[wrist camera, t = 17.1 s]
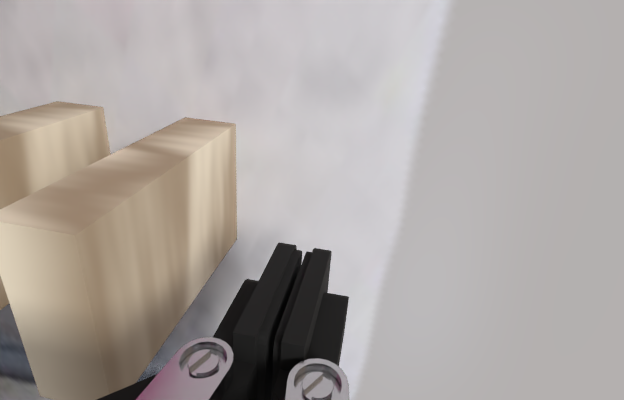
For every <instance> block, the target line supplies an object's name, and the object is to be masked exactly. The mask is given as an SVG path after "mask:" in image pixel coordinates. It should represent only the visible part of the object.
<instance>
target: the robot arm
mask: <svg viewBox="0 0 624 400" xmlns="http://www.w3.org/2000/svg"><path fill="white" fill-rule="evenodd" d="M301 262H302V251H299V250H296V245H291V244H285V243H278V244H277V246H276V248H275V250H274V252H273V254H272V256H271V258H270V260H269V262H268V264H267V266H266V268H265V270H264V272H263V274H262V276H261V278H260V280H259V281H255V280H249V279H247V280H245V281H244V283H243V284H242V286H241V288H240V290H239V292H238V293H237V295H236V297H235V299H234V300H233V302H232V304H231V306H230V308H229V309H228V311H227V313H226V315H225V316H224V318H223V320H222V322H221V324H220V325H219V327H218V329H217V331H216V332H215V334H214V336H213V337H203V338H199V339H195V340H192V341H190V342H188V343H186V344H185V345H184V346H182V347H181V348H180V349H179V350H178V351H177V352H176V353H175V355H174V356H173V357H172V358H171V359H170V360H169V362H168V363H167V364H166V365H165V366H164V367H163V369H162V370H161V371H160V372H159V373H158V374H157V375H154V376H152V377H149V378H147V379H145V380H142V381H140V382H137V383H135V384H133V385H130V386H128V387H125V388H123V389H121V390H118V391H116V392H113V393H111V394H109V395H106V396H104V397H101V398H99V399H97V400H349V384H348V380H347V377H346V375H345V373H344V372H343V370H342V369H341V368H340V367H339V361H340V355H341V348H342V342H343V336H344V329H345V322H346V314H347V307H348V299H349V297H347V296H341V295H336V294H330V293H327V291H328V281H329V271H330V262H331V251H329V250H322V249H316V248H314V249H313V252H306V254H305V257H304V260H303V262H302V265H301Z"/></svg>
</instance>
